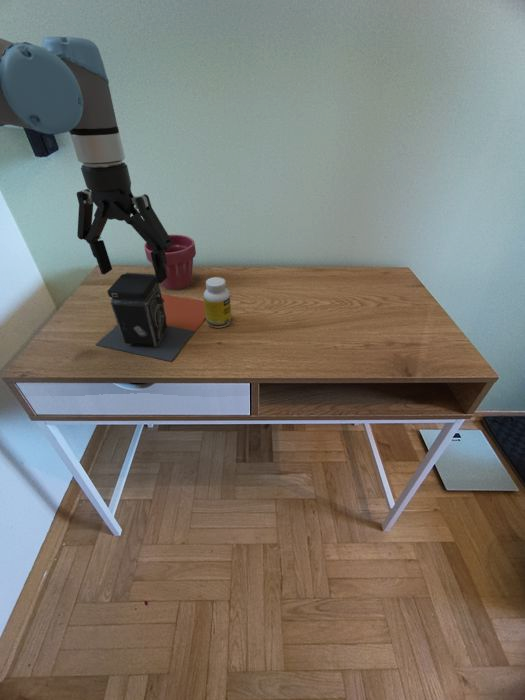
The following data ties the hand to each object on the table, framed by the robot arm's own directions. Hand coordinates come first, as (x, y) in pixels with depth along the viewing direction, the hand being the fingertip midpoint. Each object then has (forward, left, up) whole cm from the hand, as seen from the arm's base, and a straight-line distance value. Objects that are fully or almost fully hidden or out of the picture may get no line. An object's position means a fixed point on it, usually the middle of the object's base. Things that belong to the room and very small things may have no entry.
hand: (134, 276), depth 68 cm
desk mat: (0, +6, -16) cm, 17 cm away
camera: (0, 0, -16) cm, 16 cm away
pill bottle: (+14, +11, -16) cm, 24 cm away
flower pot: (-7, +27, -16) cm, 32 cm away
